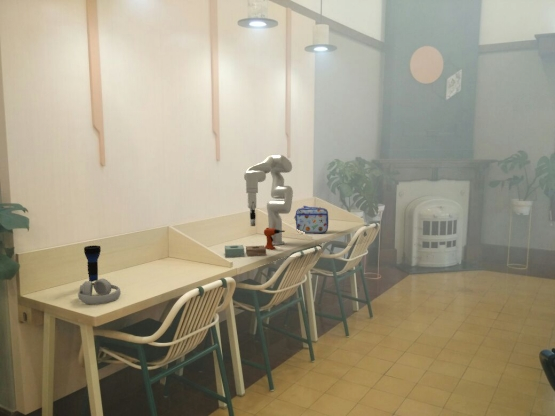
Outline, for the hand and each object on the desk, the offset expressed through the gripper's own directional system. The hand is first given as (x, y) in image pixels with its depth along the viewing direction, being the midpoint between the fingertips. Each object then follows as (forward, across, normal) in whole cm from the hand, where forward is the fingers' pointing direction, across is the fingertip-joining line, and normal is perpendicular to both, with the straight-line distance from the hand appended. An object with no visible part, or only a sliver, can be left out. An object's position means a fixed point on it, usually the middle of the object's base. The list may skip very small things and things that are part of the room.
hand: (252, 218), depth 323 cm
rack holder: (+23, 0, -12) cm, 26 cm away
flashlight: (+24, +57, -88) cm, 108 cm away
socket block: (+23, 0, +2) cm, 23 cm away
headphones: (+24, +82, -81) cm, 118 cm away
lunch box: (+23, -69, +54) cm, 90 cm away
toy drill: (+23, -11, +16) cm, 30 cm away
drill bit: (+5, 0, 0) cm, 5 cm away
